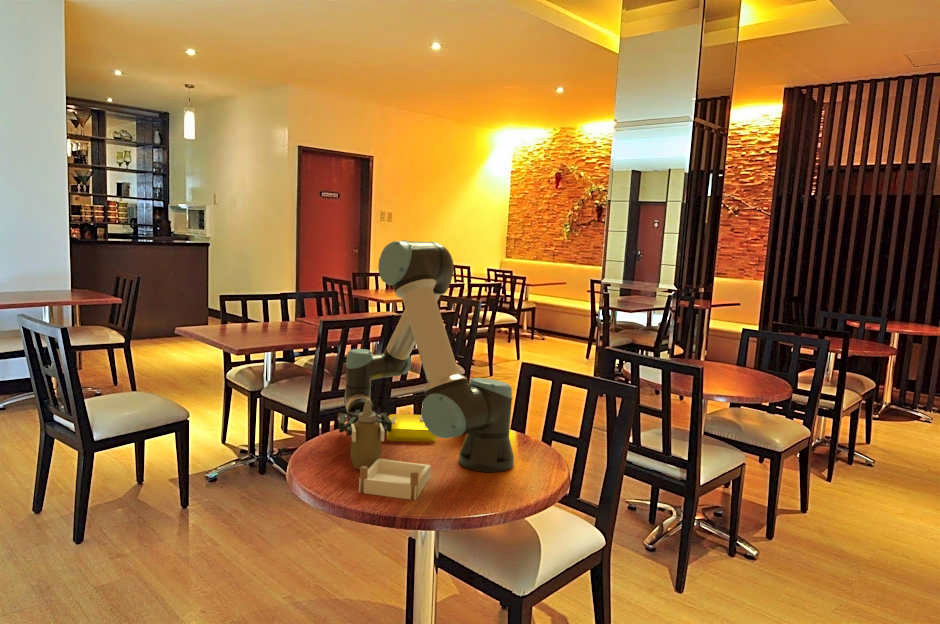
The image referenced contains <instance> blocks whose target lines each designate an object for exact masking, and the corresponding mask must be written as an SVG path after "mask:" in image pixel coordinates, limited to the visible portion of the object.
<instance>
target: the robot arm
mask: <svg viewBox="0 0 940 624" xmlns="http://www.w3.org/2000/svg"><path fill="white" fill-rule="evenodd" d="M378 275H379V277H380V280H381V281H382V282H384V284H386V285H388V286H392V288H393V292H394V294H395V296H396V297H398V298H400V299H401V300H402V302H403V305H404V310H403V312H402V315H401V316H400V318H399V321H398V323H397V325H396V327H395V330H394V332H393V333H392V335H391V337H390V339H389V342H388V344H387V346H386V347H385V350H384V351H383V353H376V354H373V352H372V351H371V350H370V349H365V348H353V349H350V350H348V352H347V355H346V362H345V385H344V386H345V389H344V391H345V392H344V395H343V404H344V405H345V409H346V413H347V414H346V413H343V412H338V413H337V423H338V424H339V425H338V426H339V427H338V433H341V434H342V433H344V432H345V436H347V437H350V436H351V442H352V441H353V442H356V429H355V426H354V424H355V422H356V421H358V414H359V413H361V412H363V409H364V405H365V401H366V400H370V402H371V408H372V412H374V413H376V421H377V422H378V423H379V424H380V425H379V430H380V441H381V442H384V441H385V435H387V431H388V432H391V431H392V422H391V420H390V419H389V418H388V416H389V415H388V412H386V411H383V412H382V413H381V412H380V414H378V412H376V410H375V408H374V406H373V402H372V400H371V389H372V388H371V387H372V380H378V379H383V378H384V379H385V378H390V377H391V378H392V377H399V376H403V375H406V374H407V373H409V371H410V370H411V368H412V365H411V364H412V359H411V353H412V351H413V349H414V347H415V345H416V349H417V352H418V355H419V358H420V362H421V365H422V368H423V371H424V375H425V377H426V381H427V386H426V388H425V390H423V391H424V395H425V398H424V399H423V401H422V402H421V403H422V404H421V406H422V407H421V409H420V410H421V414H420V415H422V418H423V421H424V423H425V425H426V427H427V428H428V430H429V431H430V432H431V433H432V434H435V435H436V436H437V438H440V439H450V438H451V439H452V438H458V437H461V436H464V435H463V434H467V435H465V438H464V441H463V443H462V445H461V447H460V450H459V455H458V463H459V464H460V465H461V466H462V467H464V468H466V469H469V470H472V471H476V472H482V473H483V472H484V473H498V472H499V473H500V472H505V471H508V470H510V469H511V468H513V466H514V463H515V462H514V461H515V457H514V456H515V455H514V451H513V447H512V444H511V440H510V427H511V414H512V412H511V411H512V403H513V401H512V400H513V390H512V389H513V388H512V386H511V384H509V383H507V382H504V381H501V380H498V379H497V380H496V379H492V378H491V379H490V378H482V377H473V378H471V379H470V380H469V381H468V378H467V377H466V376H464V375H463V374H461V373H460V370H459V368H458V364H457V362H456V359H455V356H454V352H453V348H452V346H451V342H450V340H449V336H448V334H447V333H448V332H447V330H446V326H445V323H444V320H443V318H442V313H441V311H440V307H439V304H438V300H439V299H440V296H442V295H445V294H446V293H447V291H448V289H449V287H450V284H451V282H452V280H453V275H454V260H453V257H452V255H451V253H450V252H449V250H448V249H447V248H446V247H445V246H444V245H442V244H440V243H439V242H435V241H415V240H413V241H411V240H410V241H409V240H405V239H402V240H396V241H395V240H394V241H391V242H389V243H388V244H386V245H385V246H384V248H383V249H382V251H381V254H380V257H379V258H378ZM346 421H347V422H346Z"/></svg>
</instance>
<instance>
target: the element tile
mask: <svg viewBox="0 0 940 624" xmlns="http://www.w3.org/2000/svg"><path fill="white" fill-rule="evenodd" d="M387 416H388V418H389V419H390V420H391V422H392V431H391V432H388V431H387V434H386V440H387V441H389V440H390V442H406V441H407V442H409V443H410V441H411V443H412V442H413V441H414V442H415V443H417V442H418V443H434V442H437V438H438V437H437V436H436V435H435V434H432V433H431V432H430V431H429V430H428V428H427V427H426V425H425V423H424V421H423V418H422V414H402V413H401V414H399V413H398V414H396V413H393V414H392V413H391V414H389V415H387ZM414 442H413V443H414Z"/></svg>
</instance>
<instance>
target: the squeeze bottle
mask: <svg viewBox="0 0 940 624" xmlns="http://www.w3.org/2000/svg"><path fill="white" fill-rule="evenodd" d="M370 400H371V399H370ZM370 400H366V401H365V405H364V409H363V412H361V413H359V414H358V421H356V422H355V424H354V426H355V429H356V442H353V441H352V440H351V444H350V453H349V454H350V455H349V456H350V458H351V462H352V466H353V467H354V469H356V470H359V471H360V467H362V466H367V467H368V469H369V468H370V467H371V465H372V464H373V463H374V462H375V461H376V460H377V459H381V455H382V445H381V443H382V441H381V439H380V430H379V425H380V424H379V423H378V422H377V421H376V413H377V412H376V413H374V412H372V408H371V402H372V401H371V402H370Z"/></svg>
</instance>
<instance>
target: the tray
mask: <svg viewBox="0 0 940 624" xmlns="http://www.w3.org/2000/svg"><path fill="white" fill-rule="evenodd" d="M431 467H432V465H430V464H424V463H417V462H408V461H400V460H392V459H385V458H380V459H377V460H376V461H375V462H374V463H373V464H372V465H371V467H370V468H369V469H368V467H367V466H362V467H360V470H359V478H358V480H359V481H358V493H359V494H365V495H366V494H367V495H372V496H373V495H374V496H381V497H389V498H395V499H405V500H411V501H416V500H418V498H419V496H420V495H421V493H422V491H423V489H425V486H426V485H427V484H428V482H429V481H430V479H431V470H432V469H431Z"/></svg>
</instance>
